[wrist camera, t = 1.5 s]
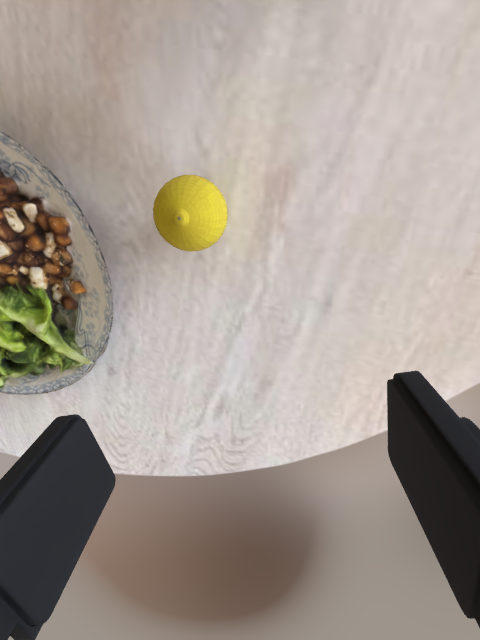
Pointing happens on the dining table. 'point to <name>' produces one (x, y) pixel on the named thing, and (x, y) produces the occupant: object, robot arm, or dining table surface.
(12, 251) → the plate of food
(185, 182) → the lemon
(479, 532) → the robot arm
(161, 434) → the dining table surface
